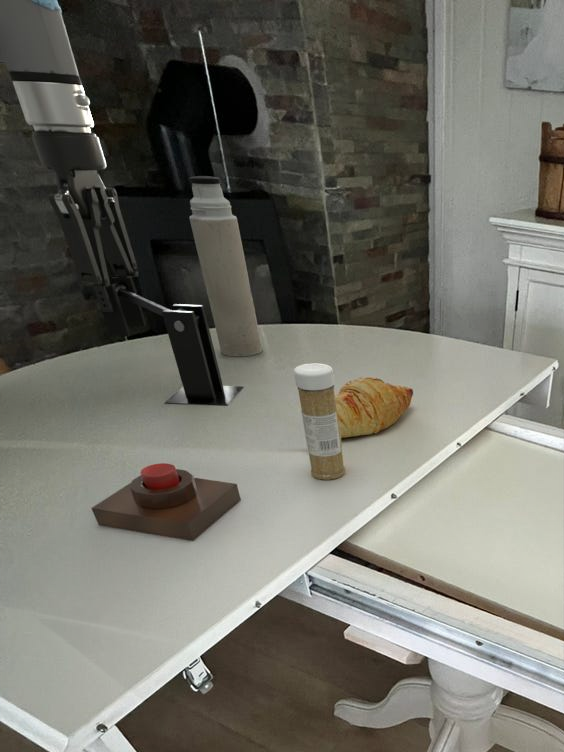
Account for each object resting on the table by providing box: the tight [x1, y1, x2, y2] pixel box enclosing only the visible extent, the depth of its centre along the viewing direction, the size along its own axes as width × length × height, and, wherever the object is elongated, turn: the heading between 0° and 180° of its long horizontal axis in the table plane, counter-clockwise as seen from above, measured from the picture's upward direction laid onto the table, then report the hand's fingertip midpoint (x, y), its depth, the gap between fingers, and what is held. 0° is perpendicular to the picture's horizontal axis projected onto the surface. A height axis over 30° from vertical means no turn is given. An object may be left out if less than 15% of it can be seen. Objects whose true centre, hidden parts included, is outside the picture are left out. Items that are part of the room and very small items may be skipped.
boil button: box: [140, 462, 180, 490], centre depth 66 cm, size 4×4×2 cm
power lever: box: [112, 282, 199, 325], centre depth 88 cm, size 12×5×2 cm, turn 90°
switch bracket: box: [161, 303, 245, 407], centre depth 93 cm, size 10×9×14 cm
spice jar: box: [293, 363, 346, 481], centre depth 74 cm, size 5×5×13 cm
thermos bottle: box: [189, 175, 263, 358], centre depth 110 cm, size 8×8×28 cm
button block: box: [91, 468, 242, 542], centre depth 68 cm, size 12×10×4 cm
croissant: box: [334, 377, 414, 439], centre depth 90 cm, size 21×10×8 cm, turn 144°
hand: (128, 329), depth 90 cm, fingers closed on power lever, 5 cm apart
